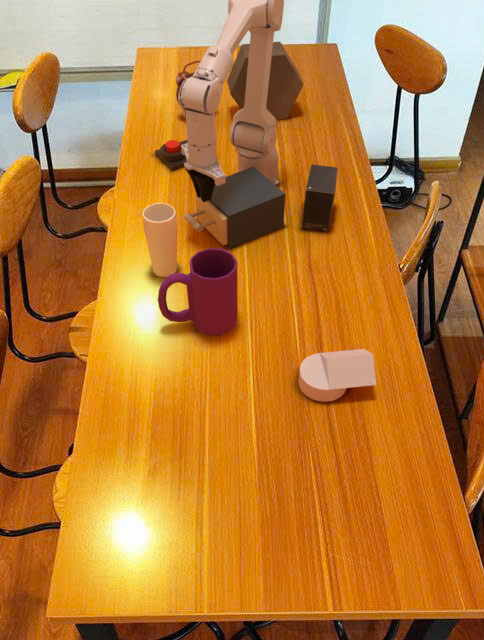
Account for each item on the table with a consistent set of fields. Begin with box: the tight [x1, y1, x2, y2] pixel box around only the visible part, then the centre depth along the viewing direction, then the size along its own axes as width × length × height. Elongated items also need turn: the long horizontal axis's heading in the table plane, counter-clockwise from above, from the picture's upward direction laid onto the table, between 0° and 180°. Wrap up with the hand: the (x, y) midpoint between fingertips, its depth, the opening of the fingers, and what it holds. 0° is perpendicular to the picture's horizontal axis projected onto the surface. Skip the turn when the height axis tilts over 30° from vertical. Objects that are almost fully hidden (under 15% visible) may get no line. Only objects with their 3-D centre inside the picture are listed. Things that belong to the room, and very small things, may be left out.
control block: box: [154, 139, 188, 172], centre depth 177 cm, size 12×9×3 cm
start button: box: [164, 139, 180, 153], centre depth 174 cm, size 4×4×2 cm
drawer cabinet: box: [209, 167, 286, 250], centre depth 156 cm, size 15×13×9 cm
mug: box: [157, 247, 239, 337], centre depth 133 cm, size 9×16×15 cm, turn 99°
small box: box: [301, 163, 339, 232], centre depth 156 cm, size 11×6×10 cm, turn 168°
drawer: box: [183, 193, 228, 246], centre depth 155 cm, size 18×12×7 cm, turn 122°
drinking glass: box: [142, 202, 178, 278], centre depth 143 cm, size 7×7×15 cm
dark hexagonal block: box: [226, 41, 304, 121], centre depth 184 cm, size 17×8×21 cm
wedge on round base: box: [298, 348, 377, 403], centre depth 126 cm, size 9×7×13 cm
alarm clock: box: [175, 60, 201, 110], centre depth 184 cm, size 11×5×15 cm, turn 115°
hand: (204, 198), depth 148 cm, fingers closed
